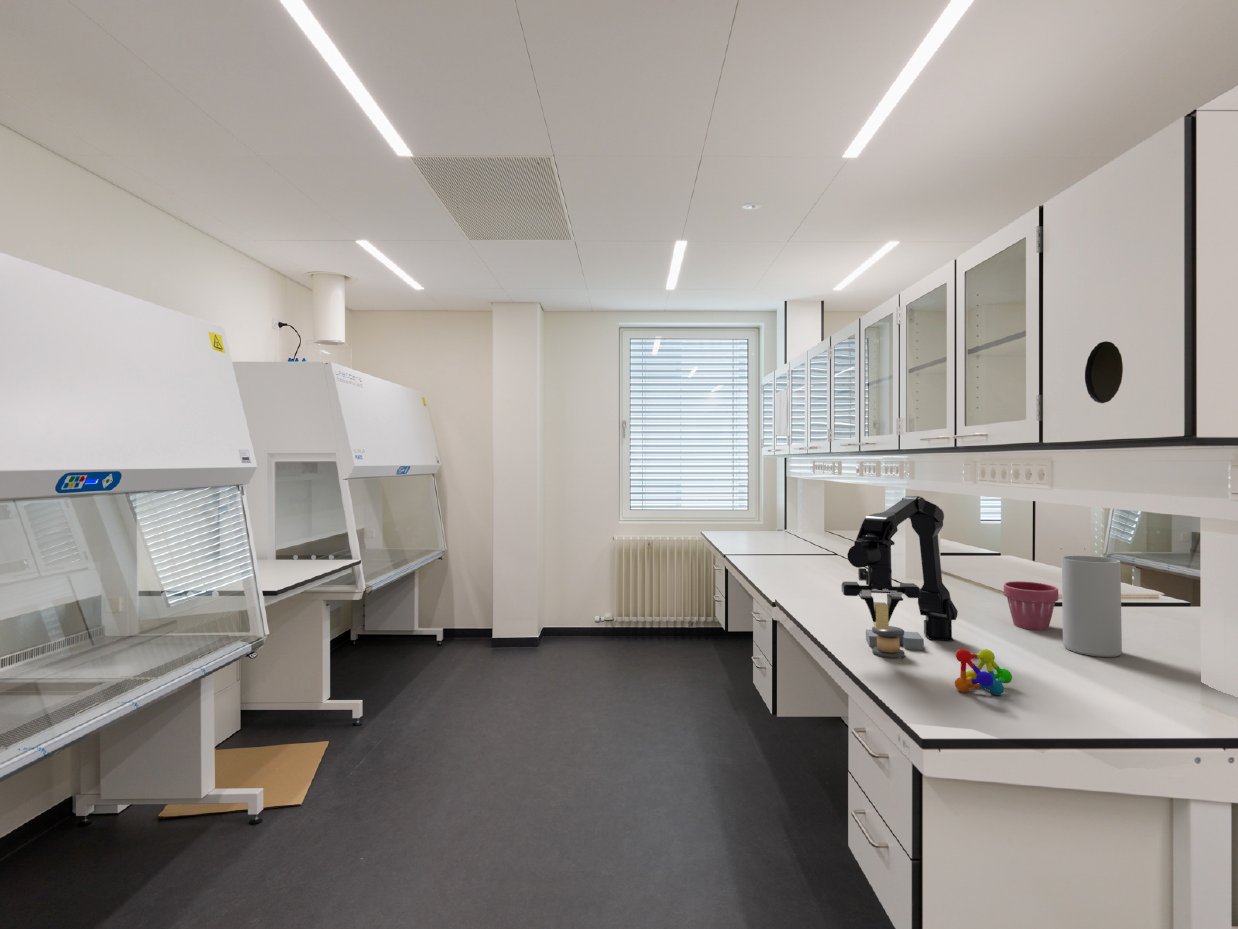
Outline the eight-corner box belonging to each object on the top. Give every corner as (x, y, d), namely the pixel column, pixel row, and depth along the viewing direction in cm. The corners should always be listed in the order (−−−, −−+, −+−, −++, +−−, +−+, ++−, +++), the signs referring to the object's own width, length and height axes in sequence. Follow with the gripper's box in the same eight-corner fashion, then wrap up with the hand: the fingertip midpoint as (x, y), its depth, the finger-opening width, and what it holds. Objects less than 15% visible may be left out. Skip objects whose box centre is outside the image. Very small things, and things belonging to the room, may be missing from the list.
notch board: (917, 642, 169) (917, 632, 169) (923, 650, 163) (923, 639, 163) (865, 639, 173) (865, 629, 173) (869, 646, 166) (869, 636, 166)
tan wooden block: (885, 625, 157) (885, 602, 157) (888, 629, 153) (888, 606, 153) (873, 624, 158) (873, 602, 158) (876, 628, 154) (875, 605, 154)
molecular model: (1019, 715, 129) (984, 683, 124) (972, 709, 138) (937, 679, 133) (1023, 667, 135) (990, 634, 130) (978, 664, 143) (944, 634, 138)
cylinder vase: (1134, 656, 155) (1132, 561, 155) (1096, 660, 153) (1094, 563, 153) (1087, 642, 167) (1086, 554, 167) (1051, 645, 165) (1050, 556, 165)
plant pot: (1044, 635, 175) (1043, 592, 175) (994, 624, 187) (994, 584, 187) (1068, 628, 182) (1067, 586, 182) (1019, 618, 194) (1018, 579, 194)
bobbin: (901, 650, 163) (900, 626, 163) (907, 659, 155) (907, 634, 155) (870, 648, 165) (869, 624, 165) (874, 657, 157) (874, 632, 157)
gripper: (910, 559, 161) (911, 615, 161) (838, 557, 166) (839, 613, 166) (921, 566, 150) (922, 626, 150) (843, 564, 155) (844, 623, 155)
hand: (880, 622), depth 156 cm, fingers closed on tan wooden block, 3 cm apart
